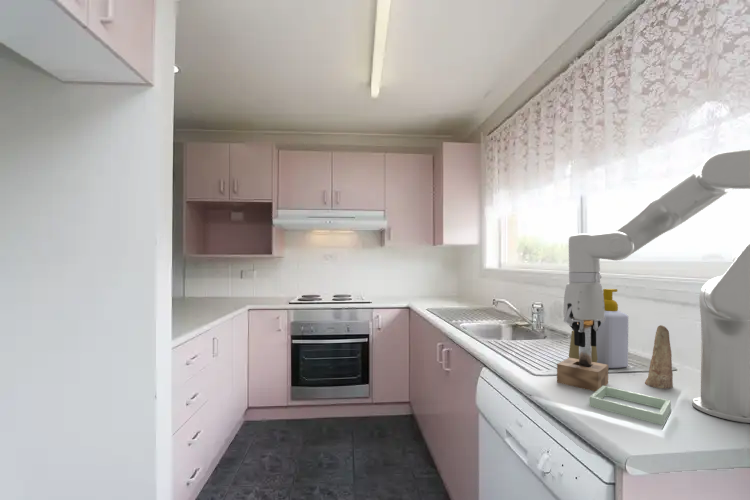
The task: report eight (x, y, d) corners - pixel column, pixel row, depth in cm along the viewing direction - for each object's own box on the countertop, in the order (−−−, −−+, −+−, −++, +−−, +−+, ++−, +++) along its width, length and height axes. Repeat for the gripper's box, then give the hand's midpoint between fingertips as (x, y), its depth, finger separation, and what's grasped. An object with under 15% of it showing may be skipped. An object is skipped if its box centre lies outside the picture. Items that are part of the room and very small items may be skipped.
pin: (585, 365, 106) (585, 318, 106) (596, 369, 102) (596, 320, 103) (574, 366, 105) (573, 318, 105) (584, 370, 101) (584, 321, 102)
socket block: (608, 386, 104) (608, 364, 104) (597, 395, 97) (598, 372, 97) (569, 378, 111) (569, 357, 111) (556, 385, 104) (557, 363, 104)
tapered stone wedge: (644, 391, 103) (672, 397, 99) (647, 327, 101) (676, 331, 97) (645, 382, 108) (672, 387, 104) (648, 321, 106) (675, 324, 102)
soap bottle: (629, 367, 123) (630, 290, 123) (608, 369, 120) (609, 290, 121) (605, 360, 132) (606, 288, 132) (585, 361, 129) (586, 288, 129)
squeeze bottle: (568, 370, 119) (569, 313, 119) (568, 364, 126) (569, 310, 126) (598, 374, 115) (598, 315, 115) (596, 368, 122) (597, 312, 122)
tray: (670, 413, 86) (670, 400, 86) (662, 429, 78) (662, 415, 78) (602, 397, 96) (603, 385, 96) (589, 409, 88) (589, 396, 88)
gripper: (596, 277, 110) (597, 341, 110) (549, 278, 106) (550, 344, 105) (619, 279, 103) (621, 347, 102) (570, 279, 99) (571, 350, 98)
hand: (585, 345), depth 104 cm, fingers closed on pin, 3 cm apart
